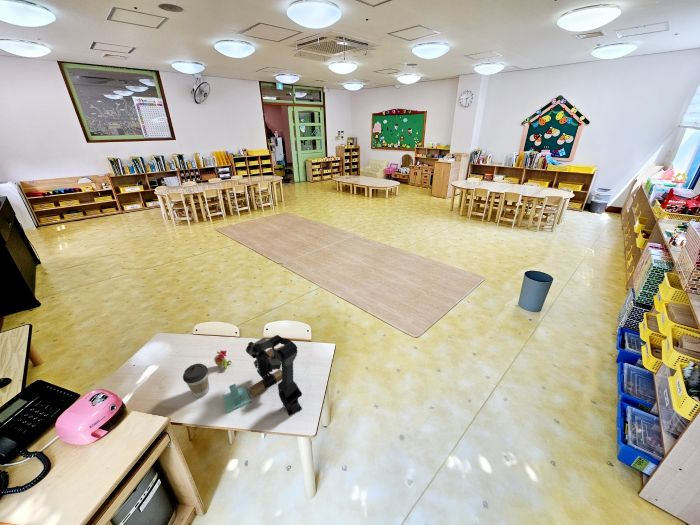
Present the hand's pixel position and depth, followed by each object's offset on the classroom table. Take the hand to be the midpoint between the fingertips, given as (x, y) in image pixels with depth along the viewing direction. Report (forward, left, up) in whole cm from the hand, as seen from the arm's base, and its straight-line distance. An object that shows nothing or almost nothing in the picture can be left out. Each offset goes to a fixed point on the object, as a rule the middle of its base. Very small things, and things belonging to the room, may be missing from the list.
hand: (267, 383), depth 154 cm
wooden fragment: (+20, -11, -2) cm, 23 cm away
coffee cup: (+15, +30, -1) cm, 34 cm away
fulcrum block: (0, +16, -1) cm, 16 cm away
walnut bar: (0, 0, -1) cm, 1 cm away
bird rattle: (+27, +17, -1) cm, 32 cm away
